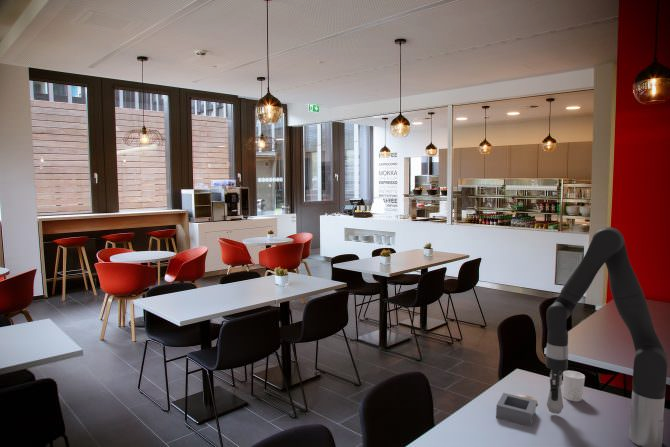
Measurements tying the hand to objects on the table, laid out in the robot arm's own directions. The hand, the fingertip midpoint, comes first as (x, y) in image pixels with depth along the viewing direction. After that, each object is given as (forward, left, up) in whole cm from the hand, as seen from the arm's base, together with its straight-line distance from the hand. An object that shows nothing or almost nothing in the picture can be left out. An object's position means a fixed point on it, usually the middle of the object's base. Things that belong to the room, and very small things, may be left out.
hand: (555, 399), depth 178 cm
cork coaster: (+11, -6, -6) cm, 14 cm away
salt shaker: (0, 0, -5) cm, 5 cm away
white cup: (-5, -20, -7) cm, 22 cm away
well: (+12, +8, -6) cm, 16 cm away
